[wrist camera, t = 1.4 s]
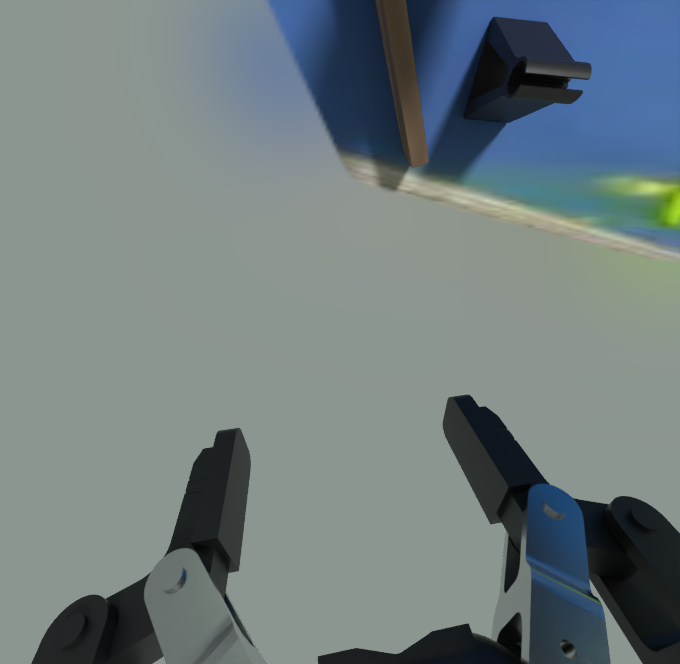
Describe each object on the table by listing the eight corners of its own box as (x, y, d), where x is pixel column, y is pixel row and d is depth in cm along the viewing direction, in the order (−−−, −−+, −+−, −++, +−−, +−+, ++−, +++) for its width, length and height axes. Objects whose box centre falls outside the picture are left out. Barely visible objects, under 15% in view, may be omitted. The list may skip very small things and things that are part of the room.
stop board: (369, -157, 25) (377, -200, 21) (418, 150, 41) (429, 162, 36) (347, -142, 26) (350, -181, 21) (404, 156, 41) (412, 168, 37)
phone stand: (492, 16, 32) (551, 4, 23) (545, 22, 33) (623, 12, 24) (462, 118, 38) (500, 138, 30) (507, 122, 39) (557, 143, 30)
